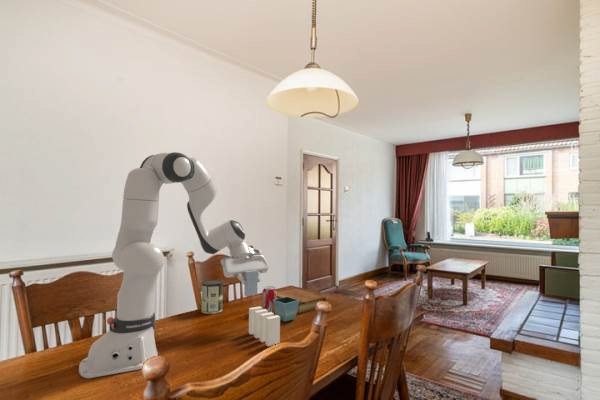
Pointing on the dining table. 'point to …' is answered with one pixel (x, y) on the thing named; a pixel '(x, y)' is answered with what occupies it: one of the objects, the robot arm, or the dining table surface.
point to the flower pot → (286, 308)
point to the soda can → (269, 298)
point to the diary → (302, 299)
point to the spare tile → (251, 283)
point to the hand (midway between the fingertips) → (251, 282)
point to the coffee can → (212, 296)
